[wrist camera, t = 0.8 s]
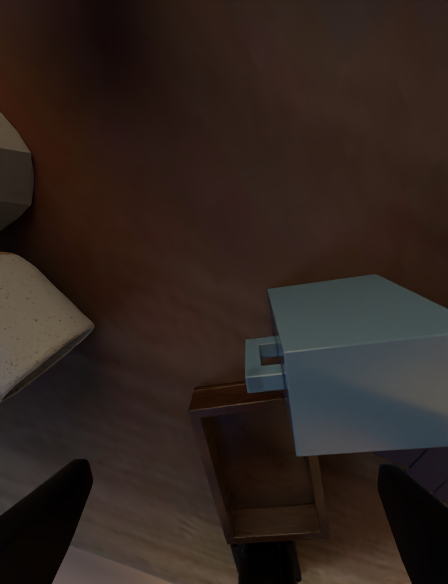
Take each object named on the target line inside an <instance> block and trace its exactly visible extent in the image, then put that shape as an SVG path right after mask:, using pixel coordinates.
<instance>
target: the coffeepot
mask: <svg viewBox="0 0 448 584" xmlns="http://www.w3.org/2000/svg"><path fill="white" fill-rule="evenodd" d="M33 188H34V172H33V165H32V161H31V152H30V151H29V149H28V148H27V146H26V144H25V143H24V141H23V140H22V138H21V136H20V135H19V133H18V132H17V130H16V129H15V128H14V127H13V126H12V125H11V124H10V122H9V121H8V120H7V119H5V117H4V116H3V115H2V113H1V112H0V231H1V230H2V229H4V228H5V227H6V226H8V225H9V224H10V223H12V222H13V221H15V220H17V219H18V218H19V217H20V216H21V215H22V214H23V213H24V212H25V210H26V209H27V208H28V207H30V206H31V202H32V196H33Z"/></svg>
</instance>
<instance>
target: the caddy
mask: <svg viewBox="0 0 448 584" xmlns="http://www.w3.org/2000/svg"><path fill="white" fill-rule="evenodd" d="M188 412H189V415H190V419H191V423H192V426H193V430H194V433H195V437H196V440H197V443H198V447H199V450H200V454H201V457H202V461H203V464H204V467H205V471H206V474H207V478H208V481H209V484H210V488H211V491H212V495H213V498H214V502H215V505H216V508H217V512H218V515H219V519H220V522H221V525H222V529H223V532H224V536H225V539H226V542H227V544H243V543H259V542H275V541H291V540H307V539H323V538H330V537H331V536H330V530H329V523H328V517H327V510H326V504H325V497H324V491H323V485H322V478H321V472H320V465H319V459H318V455H315V456H300V457H298V456H296V452H295V447H294V442H293V437H292V432H291V428H290V423H289V418H288V413H287V408H286V403H285V398H284V393H283V390H273V391H264V392H256V393H248V392H247V387H246V381H239V382H232V383H225V384H218V385H210V386H203V387H196V388H195V389H194V393H193V396H192V400H191V403H190V407H189V410H188Z"/></svg>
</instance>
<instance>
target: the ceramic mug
mask: <svg viewBox="0 0 448 584" xmlns="http://www.w3.org/2000/svg"><path fill="white" fill-rule="evenodd" d="M94 327H95V326H94V324H93V323H92V321H91V320H89V319H88V318H87V317H86V316H85V315H84V314H83V313H82V312H81V311H80V310H79V309H78V308H77V307H76V306H75V305H74V304H73V303H72V302H71V301H70V300H69V299H68V298H67V297H66V296H65V295H64V294H63V293H61V292H60V291H59V290H58V289H57V288H56V287H55V286H54V285H53V284H52V283H51V282H50V281H49V280H48V279H47V278H46V277H45V276H44V275H43V274H42V273H41V272H40V271H39V270H38V269H37V268H36V267H35V266H34V265H32V264H31V263H29V262H28V261H27V260H25V259H24V258H22V257H20V256H19V255H16V254H13V253H8V252H0V403H1V402H4V401H5V400H7V399H9V398H10V397H12V396H14V395H15V394H16V393H18V392H19V391H21V390H22V389H23V388H25V387H26V386H27V385H29V384H30V383H31V382H33V381H34V380H35V379H36V378H38V377H39V376H40V375H42V374H43V373H44V372H45V371H47V370H48V369H49V368H50V367H52V366H53V365H54V364H56V363H57V362H58V361H59V360H60V359H62V358H63V357H64V356H65V355H66V354H68V353H69V352H70V351H71V350H72V349H73V348H74V347H75V346H77V345H78V344H79V343H80V342H81V341H82V340H84V339H85V338H86V337H87V336H88V335H89V334H90V333H91V332H92V330H93V329H94Z"/></svg>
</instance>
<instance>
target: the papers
mask: <svg viewBox="0 0 448 584" xmlns="http://www.w3.org/2000/svg"><path fill="white" fill-rule="evenodd" d="M374 454H375V455H378V456H380V457H383V458H386V459H388V460H391V461H393V462H396V463H398V464H401V465H403V466H406V467H409V468H410V469H409V470H408V471H407V472H406V473H407V474H409V475H410V476H411V477H412V478H413V479H414V480H416V481H417V482H418V483H419V484H420V485H421V486H423V487H424V488H425V489H426V490H429V491H431V492H433V493H434V494H432V495H433V496H434V497H435V498H437V499H439V500H441V501H444V502H446V503H448V447H435V448H420V449H405V450H390V451H375V452H374Z"/></svg>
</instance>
